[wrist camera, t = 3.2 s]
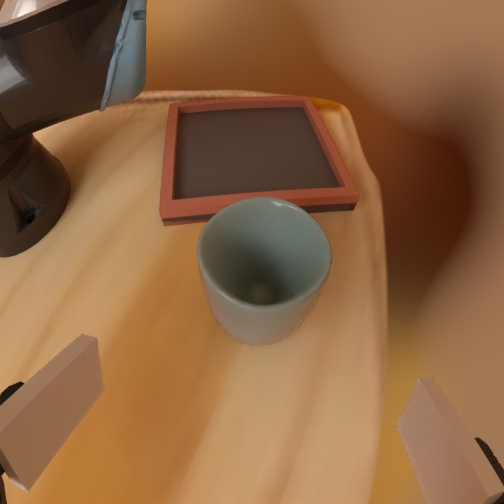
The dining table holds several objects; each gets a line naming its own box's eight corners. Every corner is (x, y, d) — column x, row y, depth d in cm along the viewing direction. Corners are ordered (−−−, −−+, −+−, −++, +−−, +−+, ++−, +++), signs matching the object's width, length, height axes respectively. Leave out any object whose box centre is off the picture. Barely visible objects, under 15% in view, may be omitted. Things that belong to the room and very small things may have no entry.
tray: (171, 117, 41) (169, 104, 39) (307, 109, 43) (309, 96, 41) (164, 226, 31) (159, 210, 29) (353, 209, 33) (359, 195, 31)
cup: (194, 300, 27) (172, 231, 18) (266, 257, 29) (277, 179, 21) (245, 374, 23) (248, 339, 15) (321, 321, 26) (358, 261, 18)
